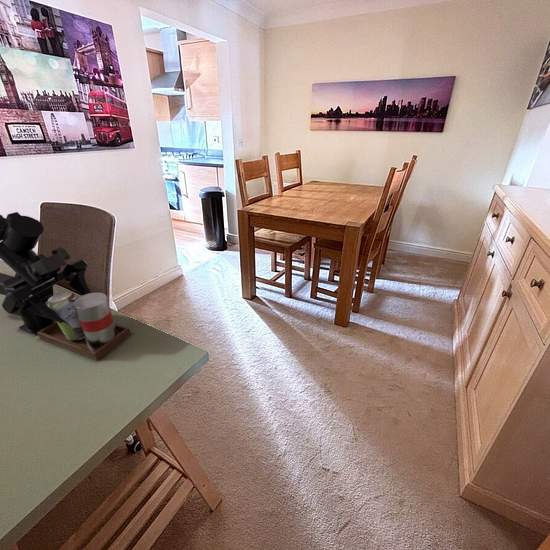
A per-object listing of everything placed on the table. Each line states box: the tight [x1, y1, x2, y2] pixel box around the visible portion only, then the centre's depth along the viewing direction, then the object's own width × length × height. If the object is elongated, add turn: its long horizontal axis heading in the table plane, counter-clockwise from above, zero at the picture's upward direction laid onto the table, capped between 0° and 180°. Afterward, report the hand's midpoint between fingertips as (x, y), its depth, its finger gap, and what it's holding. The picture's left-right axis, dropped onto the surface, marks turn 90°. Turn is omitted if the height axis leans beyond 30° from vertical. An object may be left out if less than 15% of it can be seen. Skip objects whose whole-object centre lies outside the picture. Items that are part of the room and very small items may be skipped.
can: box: [74, 292, 117, 350], centre depth 71 cm, size 7×7×12 cm
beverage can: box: [47, 290, 85, 340], centre depth 73 cm, size 6×7×12 cm
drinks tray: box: [36, 321, 132, 362], centre depth 76 cm, size 19×10×2 cm, turn 68°
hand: (76, 309), depth 72 cm, fingers open, 9 cm apart
